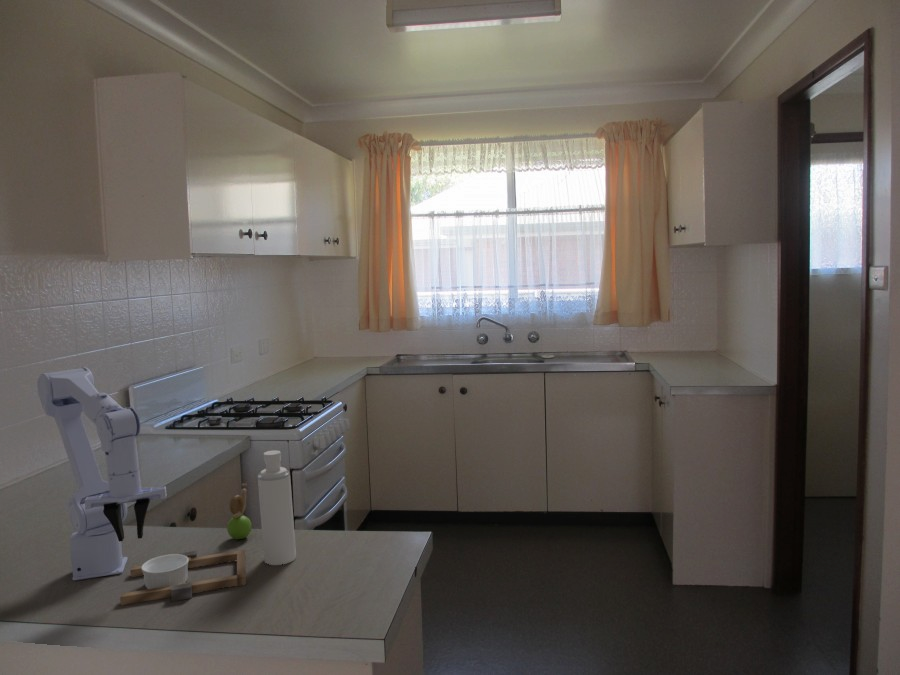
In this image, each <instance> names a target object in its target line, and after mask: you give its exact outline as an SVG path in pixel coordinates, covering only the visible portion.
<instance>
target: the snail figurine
mask: <svg viewBox="0 0 900 675" xmlns="http://www.w3.org/2000/svg"><path fill="white" fill-rule="evenodd" d="M247 485H248V484H247V483H241V486H242V489H241V491H240V493H241V495H239V494H235V495H234V496H232V498H231V499H230V502H229V511H230V513H231V519H229V521H228V522H227V525H226V530H227V533H228V535H229V536H230V538H233V539H234V540H243V539H245V538H246V537H248V536H249V535H250V533H251V531H252V528H253V527H252V521H251V520H250V518H249V517H248V516H245V515H243V513H244V512H245V511H246V507H247V492H248V490H247V488H244V487H247Z"/></svg>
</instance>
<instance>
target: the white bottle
mask: <svg viewBox="0 0 900 675" xmlns="http://www.w3.org/2000/svg"><path fill="white" fill-rule="evenodd" d="M263 462H264V464H265V468H264V469H262V470H261V471H260V472H259V473H258V474H257V485H258V486H257V488H258V498H259V501H258V502H259V511H260V527H261V537H262V539H261V540H262V549H263V561H264V563H265V564H266V563H267V564H266V565H268V564H269V566H282V564H283V565H287V564H289V563H291V562H294V560H295V559H296V558H297V550H296V548H297V547H296V536H295V523H294V512H293V509H294V508H293V497H292V496H293V494H292V484H291V482H292V481H291V472H290V470H288V469H287V468H286V467H283V466H281V462H282V452H281V451H280V450H267V451H265V452H263Z"/></svg>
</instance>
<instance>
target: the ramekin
mask: <svg viewBox="0 0 900 675" xmlns="http://www.w3.org/2000/svg"><path fill="white" fill-rule="evenodd" d="M188 562H189V559H188V557H187V556H185V555H180V554H179V553H171V554H163V555H160V556H155V557H153V558H151V559H148V560H147V561H145V562H144V563H143V564H142V567H141V569H142V572H143V575H144V576H143V581H144V585H145V587H146V589H153V588H159V587H165V586H171V585H178V584H179V583H183V582H186V583H187V580H188V576H189V572H188Z"/></svg>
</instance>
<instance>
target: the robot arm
mask: <svg viewBox="0 0 900 675" xmlns="http://www.w3.org/2000/svg"><path fill="white" fill-rule="evenodd" d="M94 378H95V377H94V374H93V373H92V371H91V370H90V369H89V368H88V367H87V366H83V367H80V368H73V369H67V370H60V371H54V372H52V371H51V372H47V373H46V372H41V373H40V375H39V376H38V378H37V380H36V381H37V394H38V398H39V401H40V403H41V407H42V409H43V410H44V413H45V416H50V417H53V419H54V421H55V422H56V426H57V428H58V431H59V435H60V437H61V439H62V443H63V445H64V449H65V453H66V455H67V458H68V461H69V465H70V467H71V470H72V474H73V476H74V479H75V480H74V481H75V482H76V485H77V489H76V491H75V492H74V493H73V494H72V495H71V496H70V498H69V499H68V505H67V507H68V512H69V520H70V521H69V522H70V524H71V527H72V529H73V530H74V531H75V532H72V534H71V536H70V539H69V540H70V542H69V551H70V560H71V569H72V581H79V580H86V579H92V578H98V577H105V576H112V575H119V574H122V573H123V572H124V570H125V567H126V564H127V562H128V559H129V558H128V556H123V550H122V549H123V548H122V542H124V539H125V532H124V530H125V529H124V525H123V522H124V521H125V520H126V518H127V515H128V506H127V504H129V503H134V505H133V509H134V514H135V519H136V520H135V521H136V532H137V533H136V535H137V539H138V540H139V539H143V536H144V525H145V519H146V515H147V511H148V507H149V504H150V502H151V500H156V499H160V500H163V499H166V498H167V495H168V494H167V486H156V487H155V486H153V487H151V486H150V487H142V482H141V481H142V480H141V474H140V473H141V472H140V471H141V470H140V463H139V452H138V447H137V437H138V436H139V434H140V432H141V421H140V417H139V414H138V412H137V411H136V410H135V408H134V407H131V406H130V407H129V406H128V407H122V406H121V405H120V404H119V403H118V402H117V401H116V400H115V399H114V398H112V397H111V396H110V395H109V394H108V393H107V392H105V391H104V392H99V391H98V390H97V388H96V387H95V379H94ZM82 413H84V415H85V416H86V417H87V418H88V419H89V420H90V422H92V423H93V424H94V425H95V426H96V432H97V436H98V437H99V440H100V447H101V449H102V451H103V452H104V454H105V466H106V472H107V481H106V480H104V479H103V476H102V474H101V471H100V468H99V465H98V462H97V459H96V456H95V454H94V450H93V447H92V444H91V442H90V438H89V436H88V433H87V429H86V426H85V424H84V422H83V418H82Z"/></svg>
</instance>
